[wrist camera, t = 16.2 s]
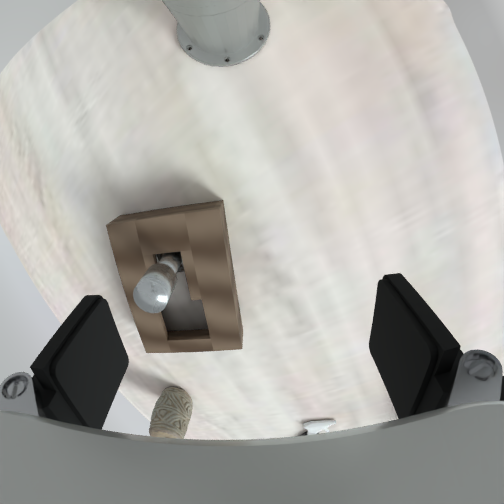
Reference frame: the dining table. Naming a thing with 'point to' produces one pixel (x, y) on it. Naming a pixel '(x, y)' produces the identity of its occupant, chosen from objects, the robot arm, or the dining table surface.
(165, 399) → the carving
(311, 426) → the spray bottle
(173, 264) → the keyhole peg
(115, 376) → the robot arm
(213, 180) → the dining table surface
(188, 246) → the keyhole board
